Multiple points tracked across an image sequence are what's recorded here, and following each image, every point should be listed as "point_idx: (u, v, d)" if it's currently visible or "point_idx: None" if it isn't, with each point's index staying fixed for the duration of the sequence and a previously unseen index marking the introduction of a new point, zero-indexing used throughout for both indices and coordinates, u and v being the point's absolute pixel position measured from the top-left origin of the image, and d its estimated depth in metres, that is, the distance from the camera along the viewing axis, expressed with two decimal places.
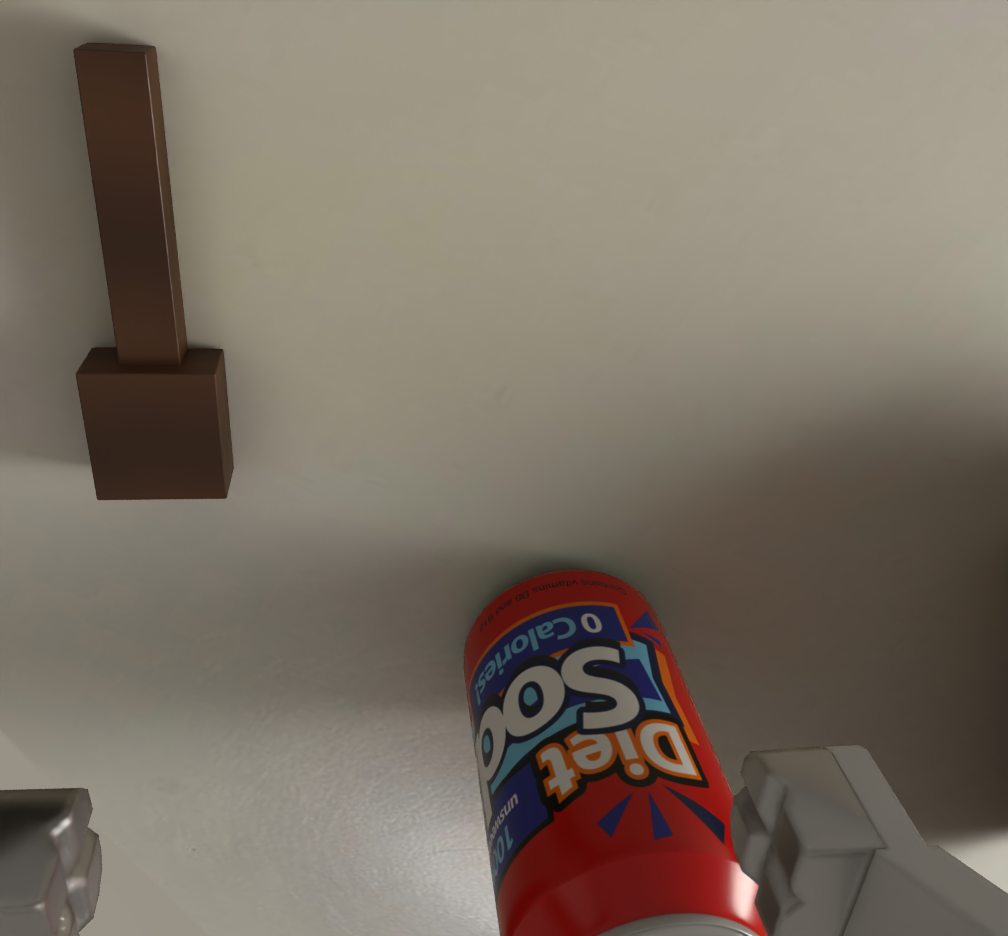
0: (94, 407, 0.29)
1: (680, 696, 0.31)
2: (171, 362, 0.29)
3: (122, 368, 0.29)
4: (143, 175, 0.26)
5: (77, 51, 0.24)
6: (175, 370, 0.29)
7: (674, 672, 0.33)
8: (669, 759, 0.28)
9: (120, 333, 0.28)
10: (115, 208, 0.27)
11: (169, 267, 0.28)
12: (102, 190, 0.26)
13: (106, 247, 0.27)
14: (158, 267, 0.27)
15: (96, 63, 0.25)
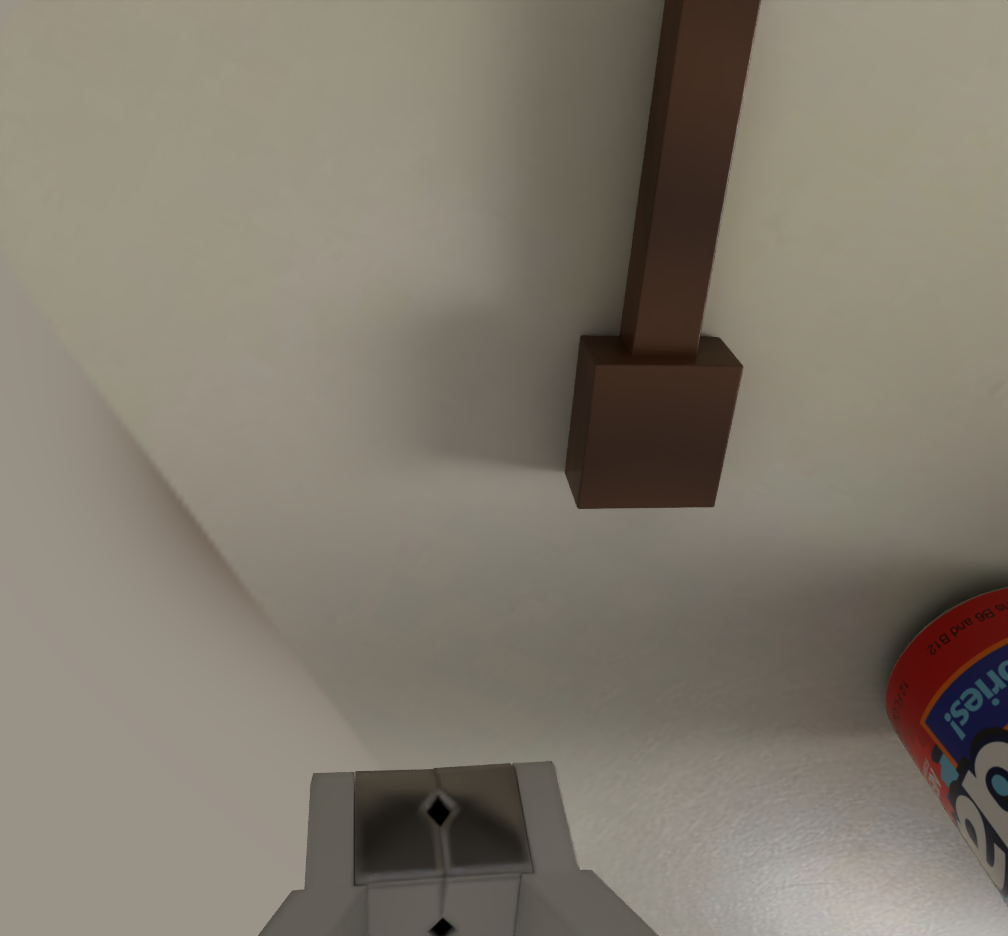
0: (605, 403, 0.25)
1: None
2: (688, 352, 0.25)
3: (638, 359, 0.25)
4: (720, 133, 0.22)
5: None
6: (696, 361, 0.25)
7: None
8: None
9: (643, 318, 0.25)
10: (678, 172, 0.23)
11: None
12: (670, 151, 0.23)
13: (656, 218, 0.23)
14: (705, 242, 0.24)
15: None
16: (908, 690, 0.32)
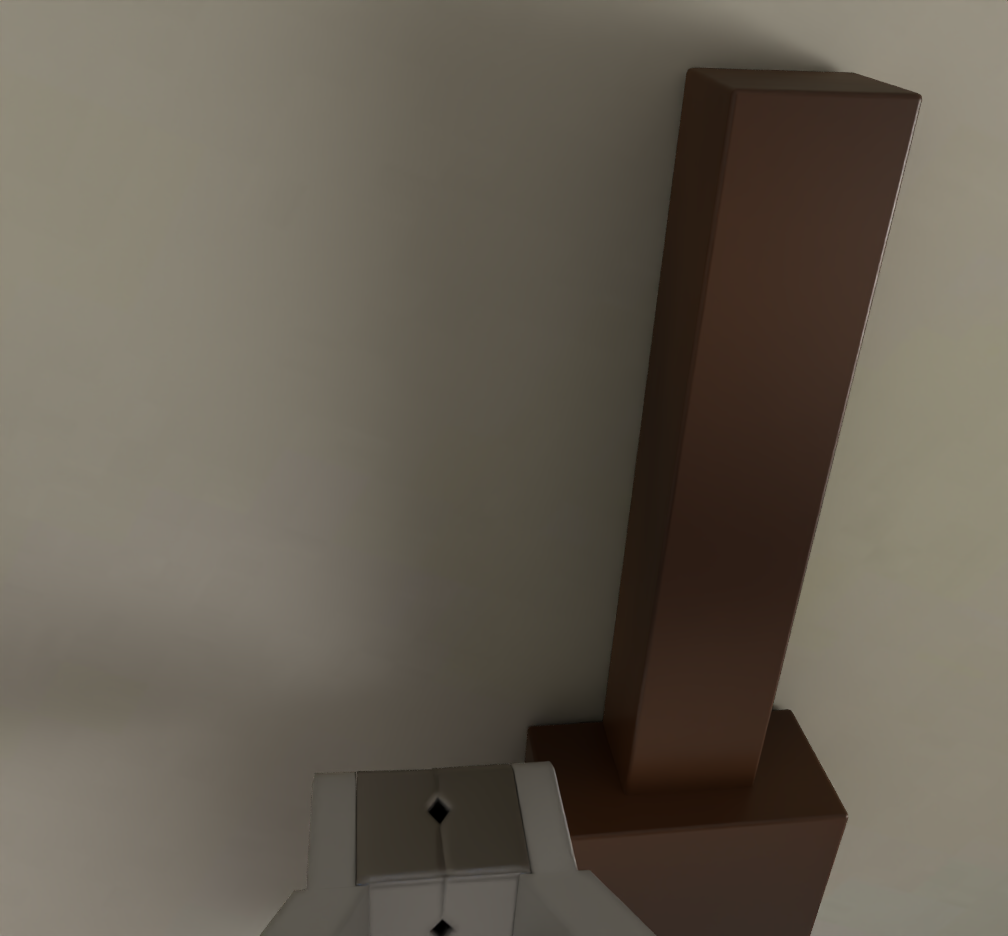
0: None
1: None
2: (737, 782, 0.13)
3: (640, 808, 0.13)
4: (810, 410, 0.10)
5: (742, 96, 0.08)
6: (755, 805, 0.13)
7: None
8: None
9: (647, 738, 0.12)
10: (717, 488, 0.10)
11: (797, 603, 0.11)
12: (700, 449, 0.10)
13: (670, 573, 0.11)
14: (774, 606, 0.11)
15: (784, 129, 0.09)
16: None
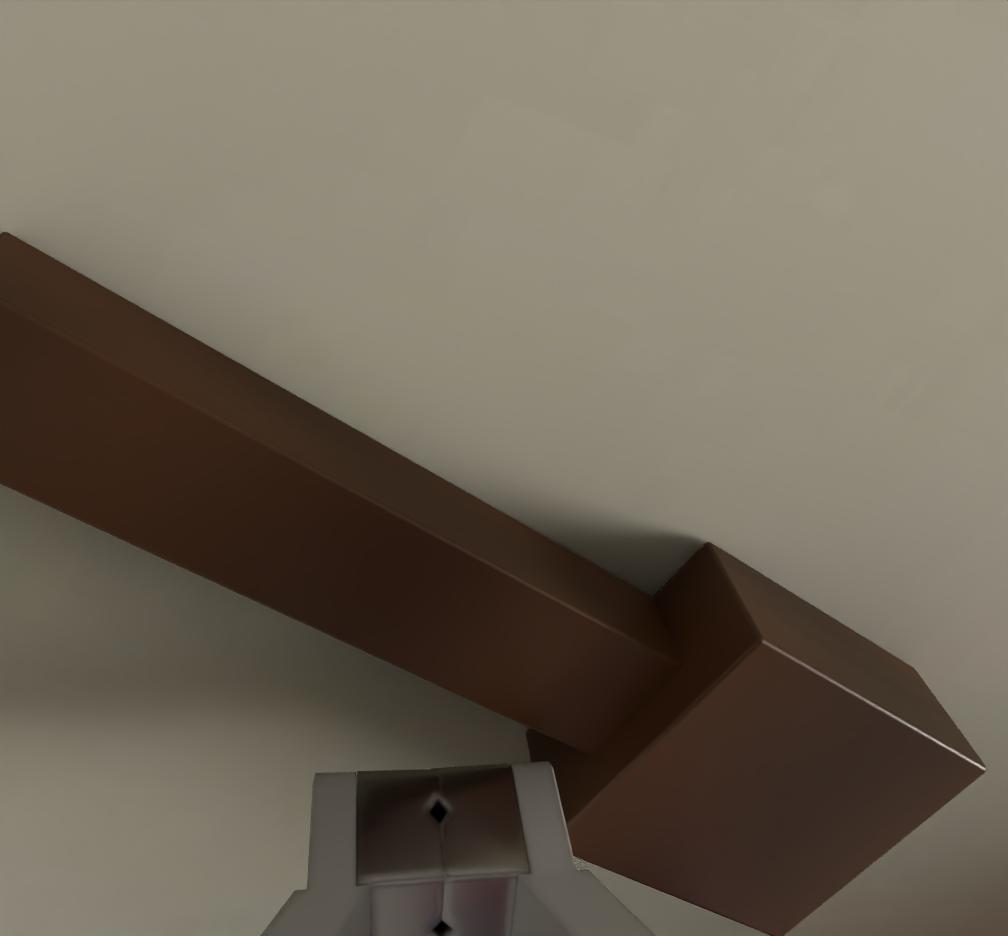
0: (630, 856, 0.13)
1: None
2: (662, 677, 0.12)
3: (601, 762, 0.12)
4: (251, 477, 0.10)
5: None
6: (684, 689, 0.12)
7: None
8: None
9: (537, 719, 0.12)
10: (289, 574, 0.10)
11: (481, 558, 0.11)
12: (235, 573, 0.10)
13: (357, 639, 0.11)
14: (465, 578, 0.11)
15: None
16: None
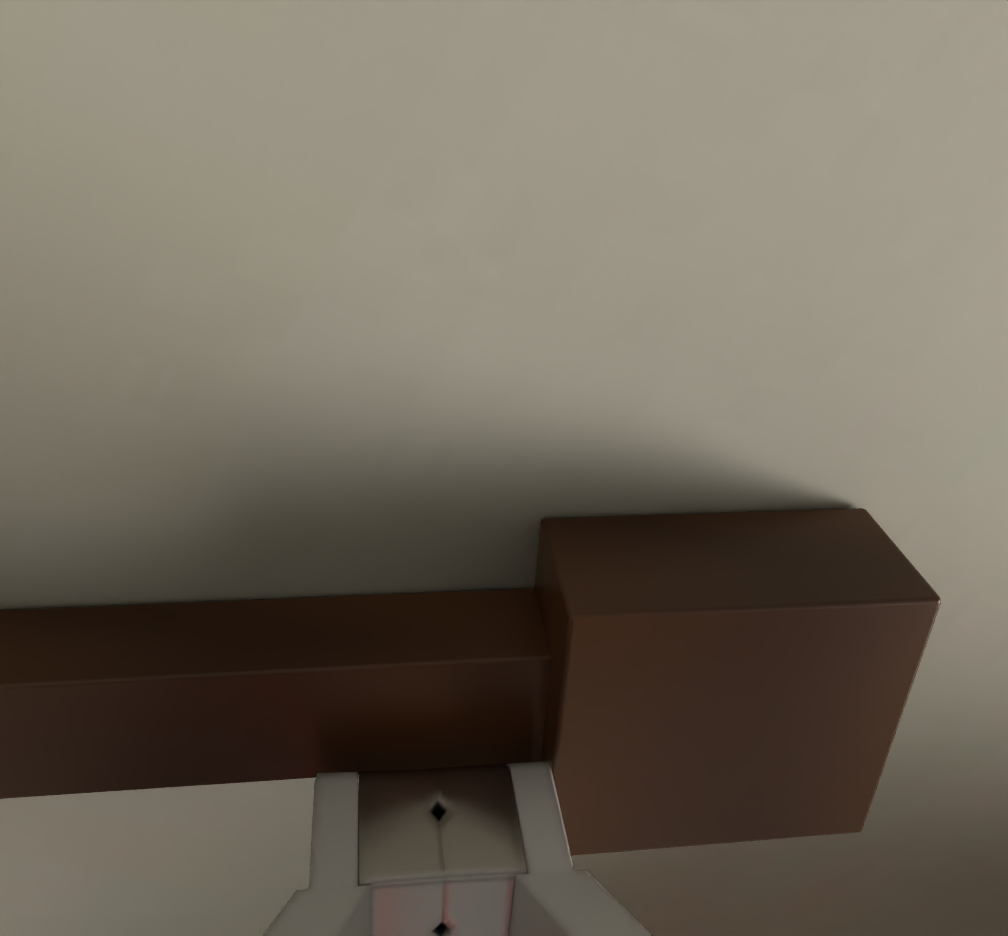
0: (630, 833, 0.12)
1: None
2: (541, 674, 0.12)
3: None
4: (60, 711, 0.11)
5: None
6: (557, 681, 0.11)
7: None
8: None
9: (463, 758, 0.12)
10: (155, 759, 0.11)
11: (290, 670, 0.11)
12: (116, 778, 0.12)
13: (253, 776, 0.12)
14: (292, 691, 0.11)
15: None
16: None
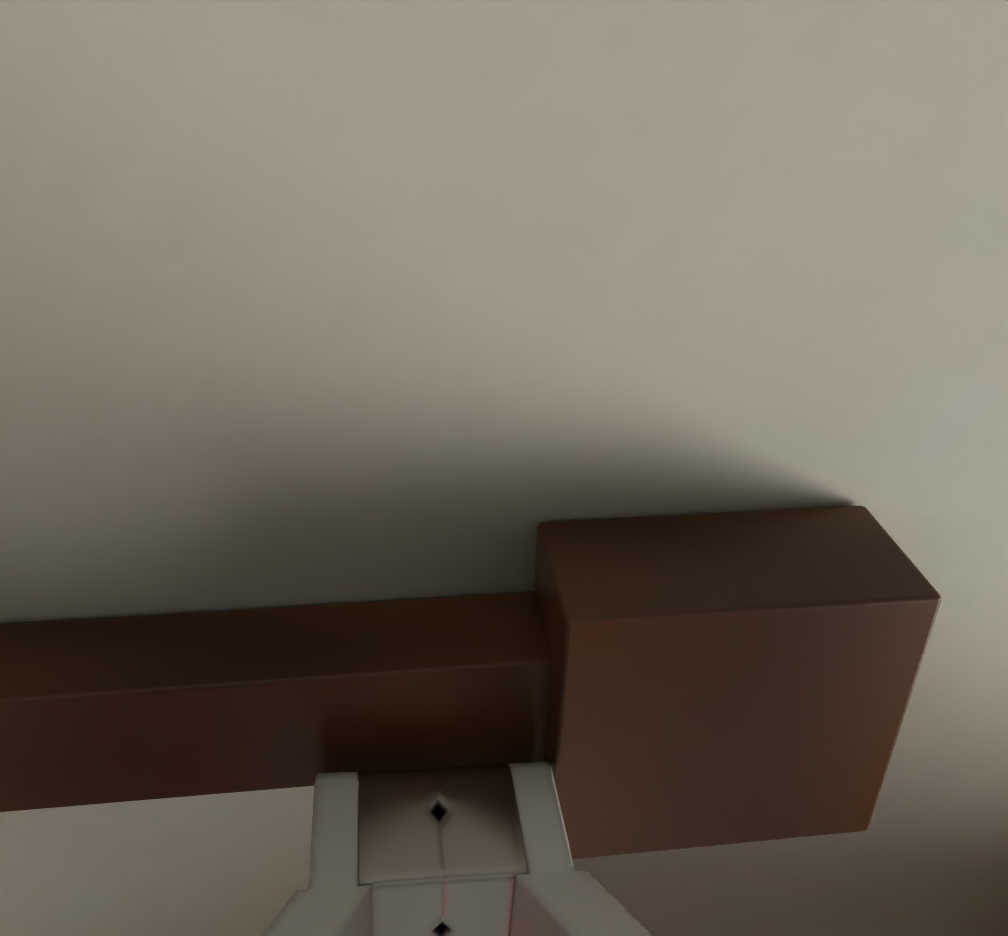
0: (634, 835, 0.12)
1: None
2: (541, 678, 0.12)
3: None
4: (61, 724, 0.11)
5: None
6: (556, 685, 0.11)
7: None
8: None
9: (465, 764, 0.12)
10: (158, 769, 0.11)
11: (290, 679, 0.11)
12: (120, 789, 0.12)
13: (255, 785, 0.12)
14: (292, 700, 0.11)
15: None
16: None
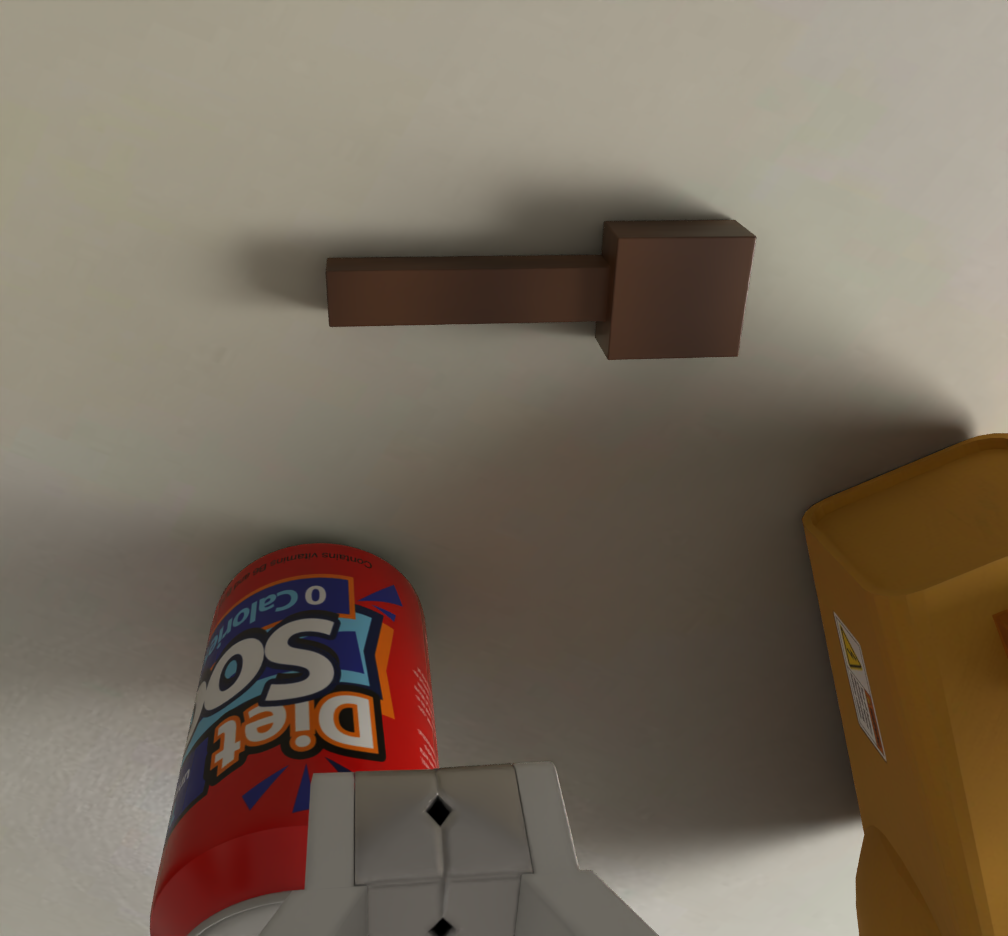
0: (641, 348, 0.31)
1: (394, 670, 0.30)
2: (606, 275, 0.30)
3: (607, 319, 0.31)
4: (429, 283, 0.29)
5: (331, 323, 0.30)
6: (612, 273, 0.30)
7: (400, 646, 0.31)
8: (344, 732, 0.26)
9: (575, 316, 0.31)
10: (459, 308, 0.30)
11: (513, 268, 0.30)
12: (444, 317, 0.30)
13: (494, 320, 0.30)
14: (513, 278, 0.30)
15: (338, 310, 0.29)
16: None
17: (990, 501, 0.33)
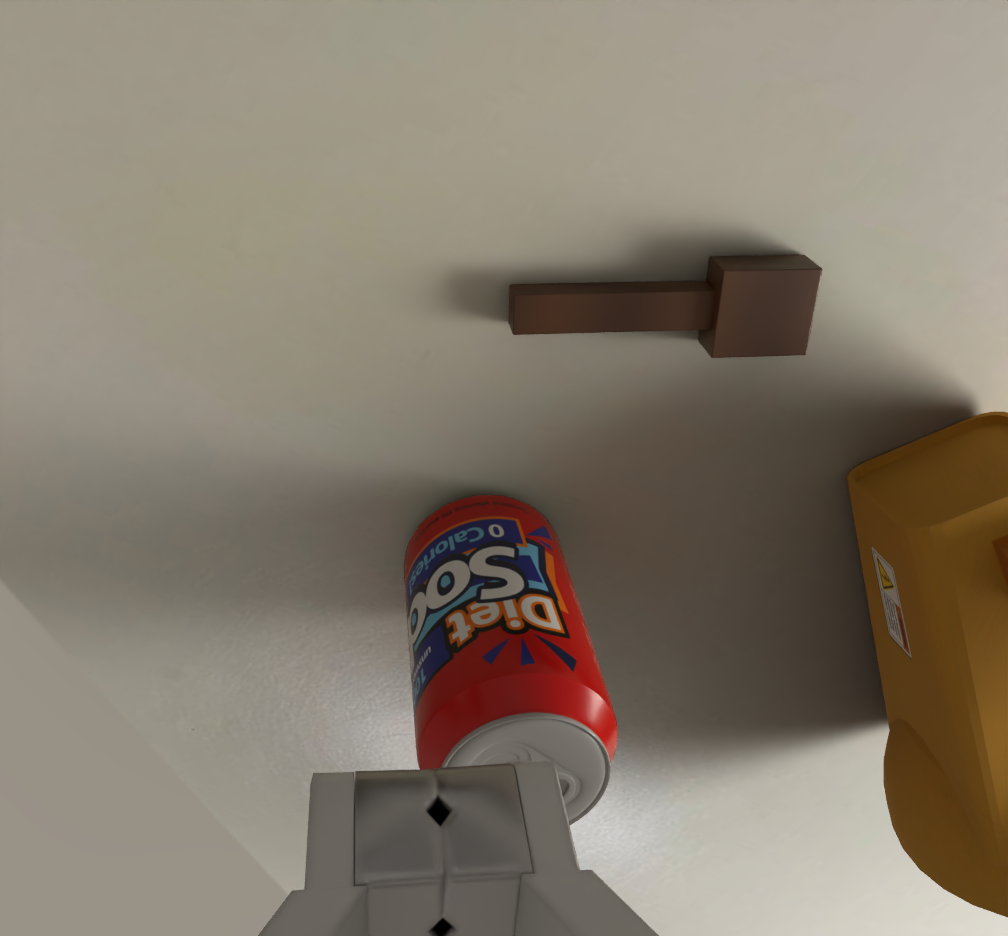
0: (736, 349, 0.42)
1: (560, 582, 0.41)
2: (712, 296, 0.41)
3: (712, 328, 0.42)
4: (586, 303, 0.41)
5: (514, 332, 0.41)
6: (718, 295, 0.41)
7: (559, 567, 0.43)
8: (540, 618, 0.38)
9: (688, 326, 0.42)
10: (606, 321, 0.41)
11: (646, 292, 0.41)
12: (594, 327, 0.41)
13: (630, 329, 0.42)
14: (645, 299, 0.41)
15: (520, 323, 0.41)
16: (405, 569, 0.46)
17: (990, 461, 0.44)
